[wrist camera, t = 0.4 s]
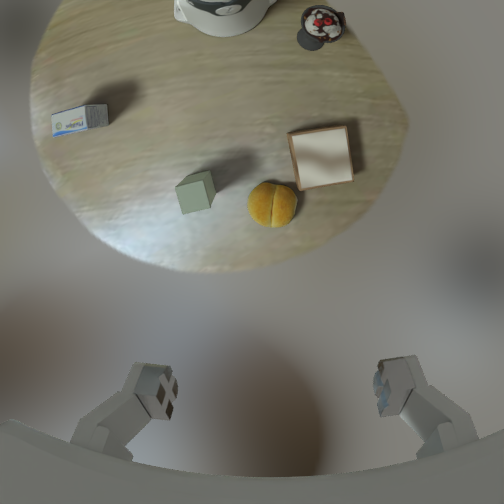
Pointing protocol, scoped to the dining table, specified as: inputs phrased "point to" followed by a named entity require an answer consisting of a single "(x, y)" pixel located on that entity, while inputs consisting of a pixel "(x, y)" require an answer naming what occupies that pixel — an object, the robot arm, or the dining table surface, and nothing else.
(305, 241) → the dining table surface
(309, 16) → the sundae
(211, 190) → the green pillar block
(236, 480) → the robot arm
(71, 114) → the medicine box
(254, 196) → the bread roll
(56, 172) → the dining table surface
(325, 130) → the wooden square block
